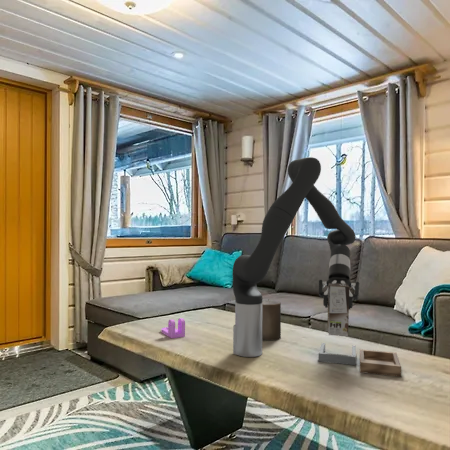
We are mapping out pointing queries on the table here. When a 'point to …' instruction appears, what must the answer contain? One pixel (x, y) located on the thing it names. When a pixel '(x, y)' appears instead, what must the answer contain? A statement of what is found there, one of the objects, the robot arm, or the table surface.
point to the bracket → (172, 331)
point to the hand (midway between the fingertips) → (337, 307)
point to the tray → (380, 363)
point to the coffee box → (338, 309)
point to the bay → (337, 356)
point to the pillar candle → (271, 320)
